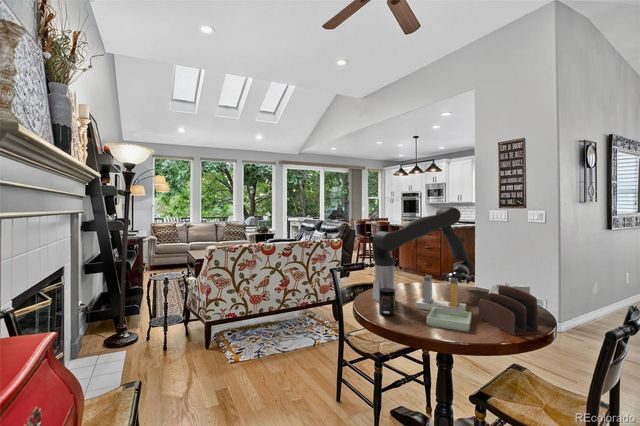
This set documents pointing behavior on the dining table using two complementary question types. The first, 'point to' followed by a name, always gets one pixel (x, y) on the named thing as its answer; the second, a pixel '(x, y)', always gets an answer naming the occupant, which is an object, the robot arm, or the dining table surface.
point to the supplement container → (387, 301)
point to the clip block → (438, 305)
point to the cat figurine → (494, 289)
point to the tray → (449, 319)
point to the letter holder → (511, 311)
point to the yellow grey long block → (454, 292)
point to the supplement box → (519, 286)
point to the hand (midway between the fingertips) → (457, 280)
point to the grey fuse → (428, 289)
